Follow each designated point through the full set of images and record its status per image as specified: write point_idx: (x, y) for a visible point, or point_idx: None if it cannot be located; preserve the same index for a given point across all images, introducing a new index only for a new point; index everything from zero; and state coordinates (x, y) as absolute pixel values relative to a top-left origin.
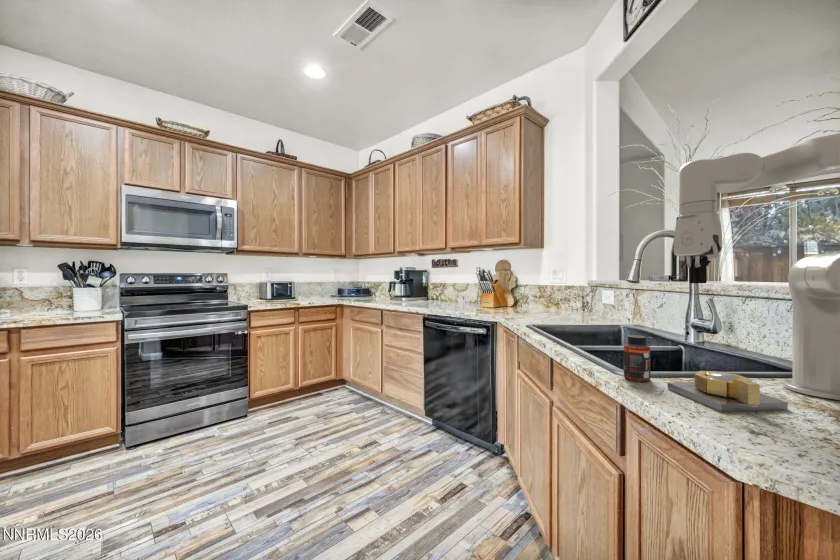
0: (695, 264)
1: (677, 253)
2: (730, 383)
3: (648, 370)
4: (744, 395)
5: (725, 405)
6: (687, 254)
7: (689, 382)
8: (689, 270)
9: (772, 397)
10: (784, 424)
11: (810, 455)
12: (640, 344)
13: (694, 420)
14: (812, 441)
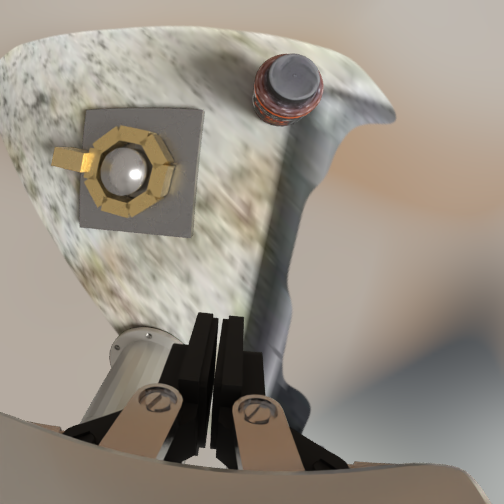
0: (174, 408)
1: (406, 479)
2: (90, 149)
3: (254, 104)
4: (73, 148)
5: (86, 117)
6: (195, 466)
7: (194, 157)
8: (241, 369)
9: (99, 228)
10: (48, 161)
11: (3, 110)
12: (267, 73)
13: (81, 51)
14: (17, 145)
